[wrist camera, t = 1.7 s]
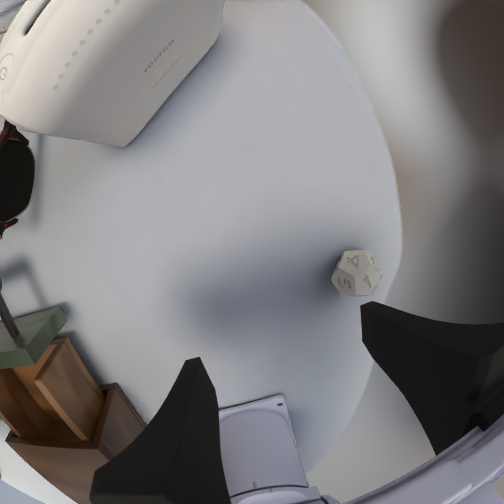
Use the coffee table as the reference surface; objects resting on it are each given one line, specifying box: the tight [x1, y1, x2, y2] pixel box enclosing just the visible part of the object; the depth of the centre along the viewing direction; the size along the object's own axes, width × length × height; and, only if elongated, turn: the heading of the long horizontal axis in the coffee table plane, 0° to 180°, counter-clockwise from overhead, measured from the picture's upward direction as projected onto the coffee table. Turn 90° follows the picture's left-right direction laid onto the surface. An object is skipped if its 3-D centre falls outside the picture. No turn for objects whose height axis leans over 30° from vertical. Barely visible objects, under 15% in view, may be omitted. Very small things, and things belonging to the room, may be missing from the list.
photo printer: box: [0, 0, 224, 147], centre depth 9 cm, size 10×4×12 cm, turn 142°
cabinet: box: [5, 383, 147, 504], centre depth 18 cm, size 12×11×7 cm
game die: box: [331, 250, 382, 296], centre depth 19 cm, size 4×4×3 cm
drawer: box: [0, 279, 106, 443], centre depth 15 cm, size 16×10×6 cm, turn 14°
